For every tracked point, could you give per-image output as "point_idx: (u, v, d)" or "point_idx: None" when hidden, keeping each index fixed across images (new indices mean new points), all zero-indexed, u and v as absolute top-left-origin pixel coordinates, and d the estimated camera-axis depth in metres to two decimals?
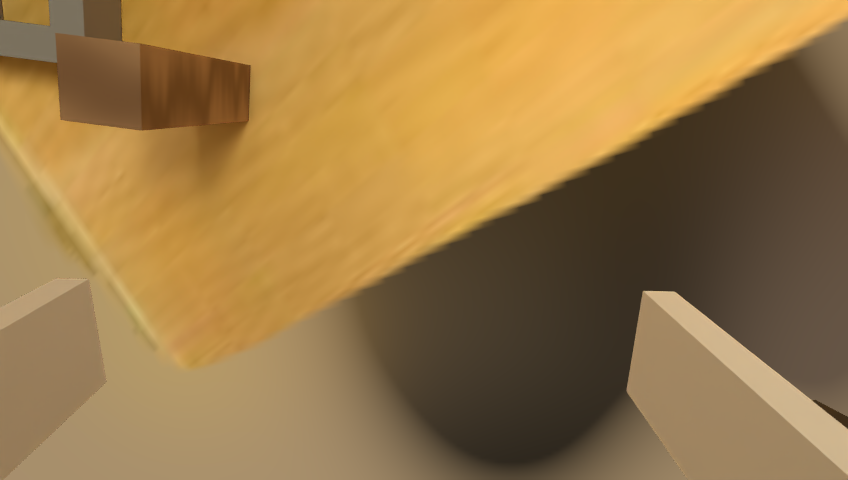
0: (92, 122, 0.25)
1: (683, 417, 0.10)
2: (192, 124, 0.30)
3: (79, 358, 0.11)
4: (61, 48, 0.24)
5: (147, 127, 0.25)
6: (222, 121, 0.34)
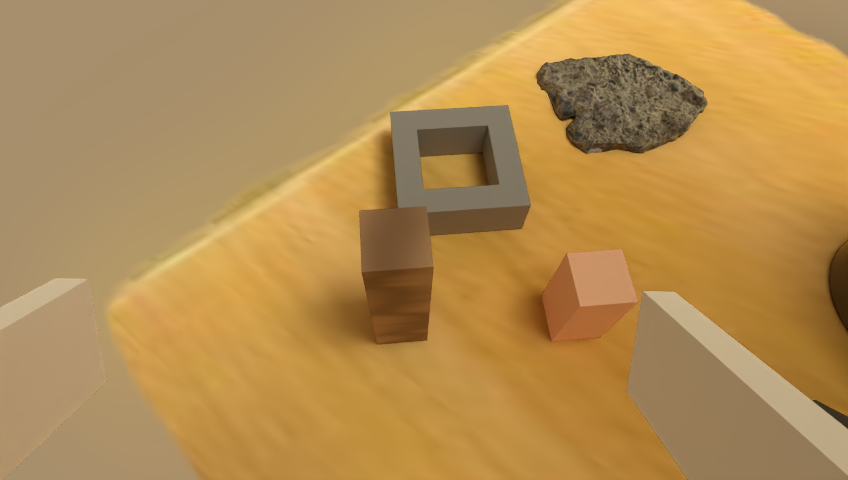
0: (361, 233, 0.29)
1: (683, 417, 0.10)
2: (370, 305, 0.33)
3: (79, 358, 0.11)
4: (415, 210, 0.30)
5: (364, 275, 0.29)
6: (374, 325, 0.36)
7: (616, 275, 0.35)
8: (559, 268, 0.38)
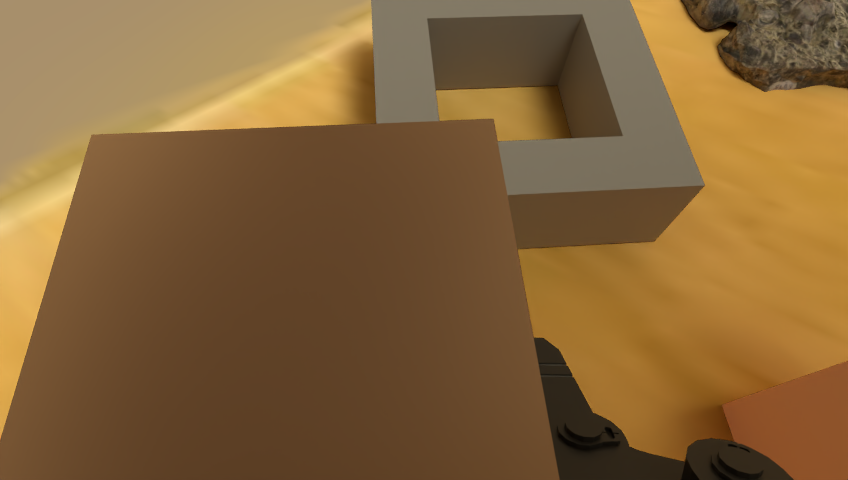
0: (55, 280, 0.04)
1: None
2: None
3: None
4: (431, 142, 0.05)
5: None
6: None
7: None
8: None
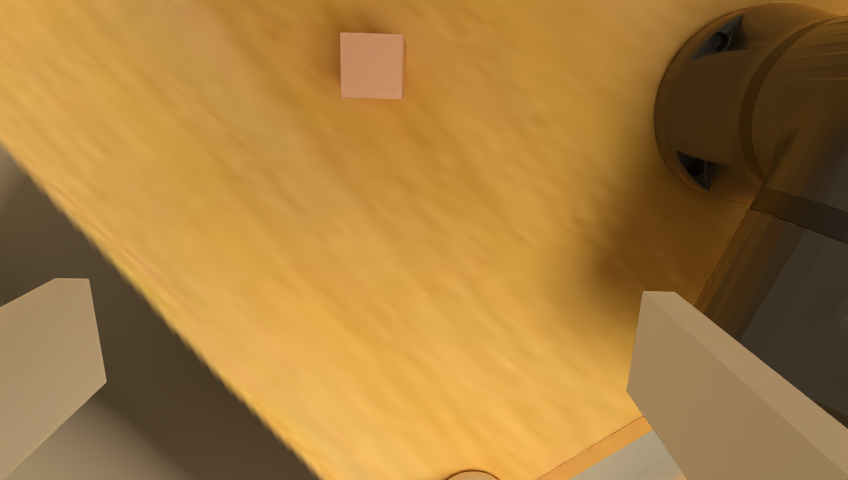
0: None
1: (682, 418, 0.10)
2: None
3: (79, 358, 0.11)
4: None
5: None
6: None
7: (387, 65, 0.33)
8: None
